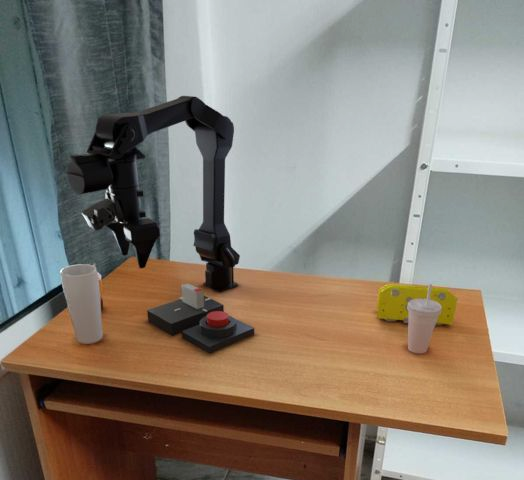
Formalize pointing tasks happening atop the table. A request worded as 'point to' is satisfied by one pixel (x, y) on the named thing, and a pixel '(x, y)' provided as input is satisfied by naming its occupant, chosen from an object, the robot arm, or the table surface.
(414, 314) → the smoothie
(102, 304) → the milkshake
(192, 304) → the grey block red tip
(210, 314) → the power button
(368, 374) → the table surface
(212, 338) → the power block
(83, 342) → the drinking glass
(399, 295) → the yellow toy chassis
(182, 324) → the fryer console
